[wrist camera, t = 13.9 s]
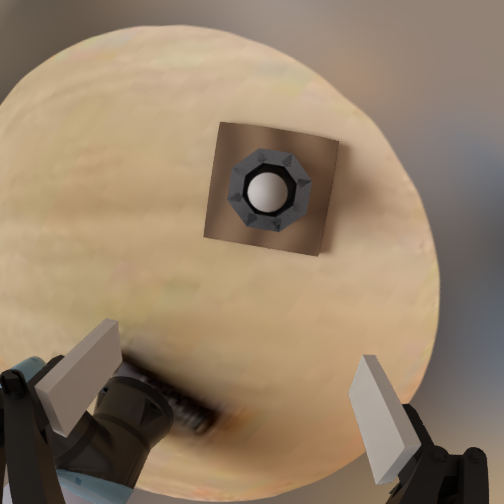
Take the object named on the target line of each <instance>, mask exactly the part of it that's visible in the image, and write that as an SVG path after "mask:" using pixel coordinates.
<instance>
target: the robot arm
mask: <svg viewBox="0 0 504 504" xmlns="http://www.w3.org/2000/svg"><path fill="white" fill-rule="evenodd" d="M121 363H122V355H121V347H120V338H119V327H118V321H116V320H112V319H108V318H106V319H105V320H104V321H102V322H101V323H100V324H99V325H98V326H97V327H96V328H95V329H94V330H93V331H92V332H90V333H89V334H88V335H87V336H86V337H85V338H84V339H83V340H82V341H81V342H80V343H79V344H78V345H77V346H75V347H74V348H73V349H72V350H71V351H70V352H69V353H68V354H67V355H66V356H63V355H59V356H57V357H55V358H53V359H51V360H50V361H49V362H48V363H47V364H46V363H45V362H44V361H43V360H42V359H41V358H39V357H36V356H33V357H30V358H28V359H26V360H24V361H22V362H20V363H19V364H17V365H15V366H14V367H12V368H10V369H9V370H6V371H4V372H2V373H1V375H0V504H2V498H3V488H4V487H5V486H6V485H7V484H8V483H9V486H10V492H11V498H12V503H13V504H65V500H64V497H63V494H62V491H61V487H60V484H61V485H62V486H63V487H65V488H66V489H68V490H69V491H71V492H72V493H74V494H76V495H78V496H79V497H81V498H84V499H85V500H88V501H90V502H92V503H95V504H126V503H127V501H128V499H129V498H130V496H131V494H132V493H133V492H134V490H133V489H134V487H135V485H136V482H137V480H138V478H139V475H140V473H141V471H142V468H143V466H144V464H145V461H146V459H147V457H148V454H149V452H150V450H151V449H152V448H153V447H154V446H155V445H156V444H157V443H158V442H159V441H160V440H161V439H163V438H164V437H165V436H166V435H167V434H168V432H169V431H170V428H171V426H172V424H173V419H174V417H173V412H172V410H171V408H170V406H169V405H168V403H167V402H166V401H165V399H164V398H163V397H162V396H161V395H160V394H158V393H157V392H156V391H155V390H153V389H152V388H151V387H149V386H147V385H146V384H144V383H142V382H140V381H137V380H135V379H131V378H128V377H112V378H110V377H111V376H112V375H113V373H114V372H115V371H116V369H117V368H118V367H119V365H120V364H121ZM97 395H98V396H97ZM348 395H349V398H350V401H351V404H352V407H353V410H354V413H355V416H356V419H357V422H358V426H359V429H360V432H361V435H362V439H363V442H364V445H365V448H366V452H367V455H368V458H369V462H370V465H371V469H372V472H373V476H374V479H375V483H376V485H379V484H384V483H391V482H392V481H393V480H394V479H395V478H396V476H397V475H398V477H399V480H400V482H399V483H398V484H397V485H396V486H395V487H394V488H393V490H392V491H391V492H390V494H391V496H390V497H389V499H388V501H387V502H386V504H489V482H488V467H487V457H486V454H485V453H484V452H483V451H482V450H481V449H479V448H476V447H470V448H468V449H467V450H466V451H465V452H464V454H463V455H450V454H449V453H448V452H447V451H446V450H445V449H444V448H442V447H440V446H436V445H434V443H433V442H432V440H431V438H430V436H429V434H428V432H427V430H426V428H425V426H424V425H423V423H422V421H421V419H420V417H419V415H418V413H417V412H416V410H415V409H414V408H413V407H412V406H411V405H410V404H401V402H400V400H399V398H398V397H397V395H396V393H395V391H394V389H393V387H392V385H391V383H390V381H389V380H388V378H387V376H386V374H385V372H384V370H383V368H382V367H381V365H380V363H379V361H378V359H377V358H376V356H375V355H362V357H361V360H360V363H359V366H358V368H357V371H356V374H355V377H354V379H353V382H352V385H351V387H350V390H349V392H348ZM96 396H97V401H96V405H95V409H94V414H93V416H91V414H90V413H89V412H88V411H87V408H88V407H89V406H90V404H91V403H92V401H93V400H94V399H95V397H96ZM55 468H56V469H55Z"/></svg>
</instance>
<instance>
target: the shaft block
mask: <svg viewBox="0 0 504 504" xmlns="http://www.w3.org/2000/svg"><path fill="white" fill-rule="evenodd" d="M338 145H339V141H336V140H331V139H327V138H322V137H317V136H312V135H307V134H302V133H297V132H291V131H285V130H279V129H273V128H266V127H259V126H251V125H244V124H235V123H226V122H220V125H219V131H218V137H217V143H216V149H215V156H214V162H213V169H212V176H211V183H210V190H209V197H208V205H207V212H206V220H205V229H204V237H206V238H212V239H218V240H224V241H230V242H236V243H242V244H247V245H253V246H259V247H265V248H271V249H277V250H283V251H288V252H294V253H300V254H306V255H312V256H317V257H318V255H319V250H320V245H321V240H322V236H323V231H324V226H325V221H326V216H327V210H328V205H329V200H330V194H331V188H332V183H333V177H334V171H335V165H336V158H337V152H338ZM258 148H263V149H269V150H275V151H281V152H287V153H293V155H294V156H295V157H296V159H297V160H298V162H299V163H300V164H301V166H302V167H303V169H304V170H305V171H306V173H307V174H308V176H309V177H310V179H311V180H312V185H311V191H310V196H309V202H308V207H307V213H306V214H305V215H304V216H302V217H301V218H299V219H298V220H296V221H295V222H293V223H292V224H290V225H289V226H288V227H286V228H285V229H283V230H282V231H280V232H275V231H269V230H263V229H258V228H252V227H247V226H246V225H245V224H244V222H243V221H242V220H241V218H240V217H239V216H238V214H237V213H236V211H235V210H234V209H233V207H232V206H231V205H230V203H229V202H228V201H227V198H228V191H229V184H230V178H231V171H232V167H234V166H235V165H236V164H238V163H239V162H240V161H242V160H243V159H244V158H246V157H247V156H249V155H250V154H251V153H253V152H254V151H256V150H257V149H258ZM293 186H294V183H293V181H292V180H291V178H290V177H289V176H288V174H287V173H286V171H285V170H284V169H283V168H279V167H273V166H267V165H264V166H263V167H262V168H260V169H259V170H257V171H256V172H255V173H253V174H252V175H250V179H249V185H248V192H247V194H248V196H249V200H250V202H251V203H252V205H253V206H254V207H255V208H257V209H258V210H261V211H264V212H272V211H277V210H279V209H280V208H282V207H283V206H284V205H286V204H287V203H289V202H290V201H291V197H292V192H293Z"/></svg>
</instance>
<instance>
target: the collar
mask: <svg viewBox="0 0 504 504" xmlns="http://www.w3.org/2000/svg"><path fill="white" fill-rule="evenodd" d="M264 165H267V166H273V167H279V168H283V169H284V170H285V171H286V173H287V174H288V176H289V177H290V178H291V180H292V181H293V183H294V186H293V192H292V197H291V201H290V202H289V203H287V204H286V205H284V206H283V207H282V208H280V209H279V210H277V211H272V212H264V211H261V210H258V209H257V208H255V207H254V206H253V205H252V203H251V202H250V200H249V196H248V194H247V192H248V185H249V179H250V175H252V174H253V173H255V172H256V171H257V170H259V169H260V168H262V167H263V166H264ZM311 185H312V180H311V179H310V177H309V176H308V174H307V173H306V171H305V170H304V169H303V167H302V166H301V164H300V163H299V162H298V160H297V159H296V157H295V156H294V155H293V153H287V152H281V151H275V150H269V149H263V148H258V149H257V150H256V151H254V152H253V153H251V154H250V155H249V156H247V157H246V158H244V159H243V160H242V161H240V162H239V163H238V164H236V165H235V166H234V167H232V171H231V178H230V184H229V191H228V198H227V201H228V202H229V203H230V205H231V206H232V207H233V209H234V210H235V211H236V213H237V214H238V216H239V217H240V218H241V220H242V221H243V222H244V224H245V225H246V226H247V227H252V228H258V229H263V230H269V231H275V232H280V231H282V230H283V229H285V228H286V227H288V226H289V225H290V224H292V223H293V222H295V221H296V220H298V219H299V218H301V217H302V216H304V215H305V214H306V213H307V207H308V202H309V196H310V191H311Z"/></svg>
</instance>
